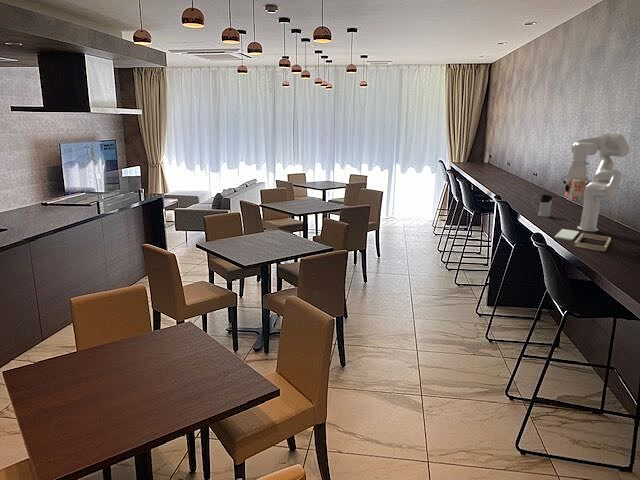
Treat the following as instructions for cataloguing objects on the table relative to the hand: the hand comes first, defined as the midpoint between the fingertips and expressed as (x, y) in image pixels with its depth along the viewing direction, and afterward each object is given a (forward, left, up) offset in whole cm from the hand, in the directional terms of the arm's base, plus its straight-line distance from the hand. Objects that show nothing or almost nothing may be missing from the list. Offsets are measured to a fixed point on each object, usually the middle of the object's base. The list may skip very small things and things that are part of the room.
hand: (574, 192), depth 308 cm
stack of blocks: (0, 0, -4) cm, 4 cm away
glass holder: (-58, -28, -28) cm, 70 cm away
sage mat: (0, 0, -27) cm, 27 cm away
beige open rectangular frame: (+13, +16, -27) cm, 34 cm away
